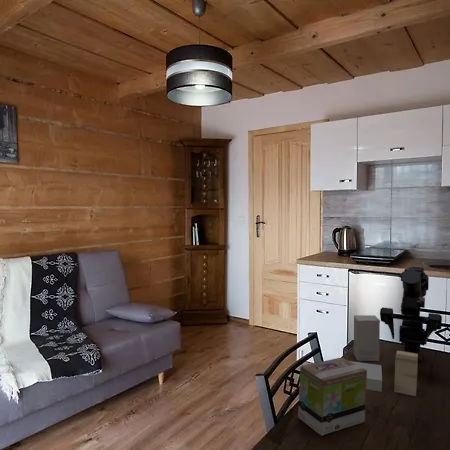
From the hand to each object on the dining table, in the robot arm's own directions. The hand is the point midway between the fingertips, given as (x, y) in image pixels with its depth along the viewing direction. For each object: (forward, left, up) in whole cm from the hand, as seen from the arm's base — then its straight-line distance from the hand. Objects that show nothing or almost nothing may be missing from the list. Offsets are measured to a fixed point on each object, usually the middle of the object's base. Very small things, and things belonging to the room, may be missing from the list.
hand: (408, 341), depth 130 cm
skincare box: (-15, -13, -13) cm, 24 cm away
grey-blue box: (+5, -14, -14) cm, 20 cm away
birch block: (+7, -1, -13) cm, 15 cm away
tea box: (+33, -21, -13) cm, 41 cm away
